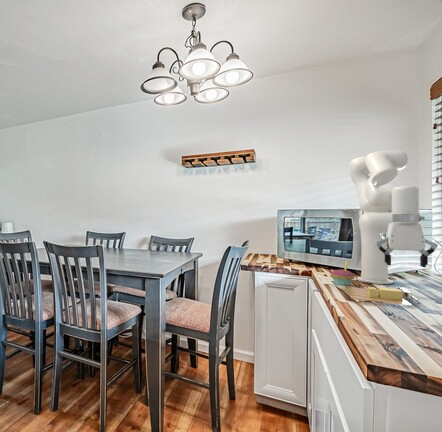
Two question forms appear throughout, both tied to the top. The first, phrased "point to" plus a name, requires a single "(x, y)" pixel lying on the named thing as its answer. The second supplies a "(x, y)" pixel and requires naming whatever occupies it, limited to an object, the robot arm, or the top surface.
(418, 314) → the top surface
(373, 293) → the butter pat
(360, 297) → the board
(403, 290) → the knife
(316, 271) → the top surface
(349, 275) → the birthday cake
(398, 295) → the butter
